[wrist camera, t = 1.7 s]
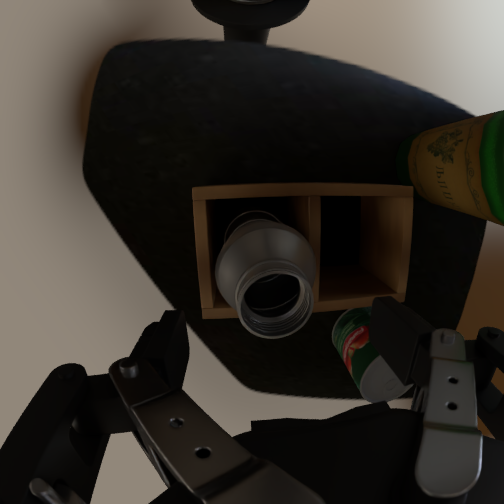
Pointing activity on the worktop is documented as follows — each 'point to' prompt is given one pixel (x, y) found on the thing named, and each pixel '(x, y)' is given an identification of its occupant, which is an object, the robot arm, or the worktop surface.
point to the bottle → (458, 166)
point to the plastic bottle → (266, 272)
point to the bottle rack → (309, 225)
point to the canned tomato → (365, 357)
